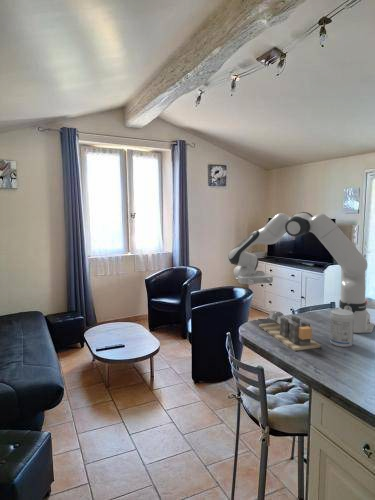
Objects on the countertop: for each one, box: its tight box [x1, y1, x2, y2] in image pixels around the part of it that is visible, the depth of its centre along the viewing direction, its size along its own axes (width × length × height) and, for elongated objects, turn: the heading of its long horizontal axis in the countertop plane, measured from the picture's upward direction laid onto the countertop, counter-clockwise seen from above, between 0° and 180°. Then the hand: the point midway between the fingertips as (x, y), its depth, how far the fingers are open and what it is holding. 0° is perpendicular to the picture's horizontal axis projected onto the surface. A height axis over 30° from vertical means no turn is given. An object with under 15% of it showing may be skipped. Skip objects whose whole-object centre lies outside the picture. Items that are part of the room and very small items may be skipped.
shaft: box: [268, 310, 299, 331], centre depth 160 cm, size 22×6×6 cm, turn 14°
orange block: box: [299, 326, 313, 340], centre depth 142 cm, size 3×5×5 cm, turn 104°
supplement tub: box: [329, 308, 354, 348], centre depth 146 cm, size 10×10×15 cm
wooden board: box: [258, 315, 321, 351], centre depth 157 cm, size 33×13×10 cm, turn 14°
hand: (262, 282), depth 178 cm, fingers open, 8 cm apart
